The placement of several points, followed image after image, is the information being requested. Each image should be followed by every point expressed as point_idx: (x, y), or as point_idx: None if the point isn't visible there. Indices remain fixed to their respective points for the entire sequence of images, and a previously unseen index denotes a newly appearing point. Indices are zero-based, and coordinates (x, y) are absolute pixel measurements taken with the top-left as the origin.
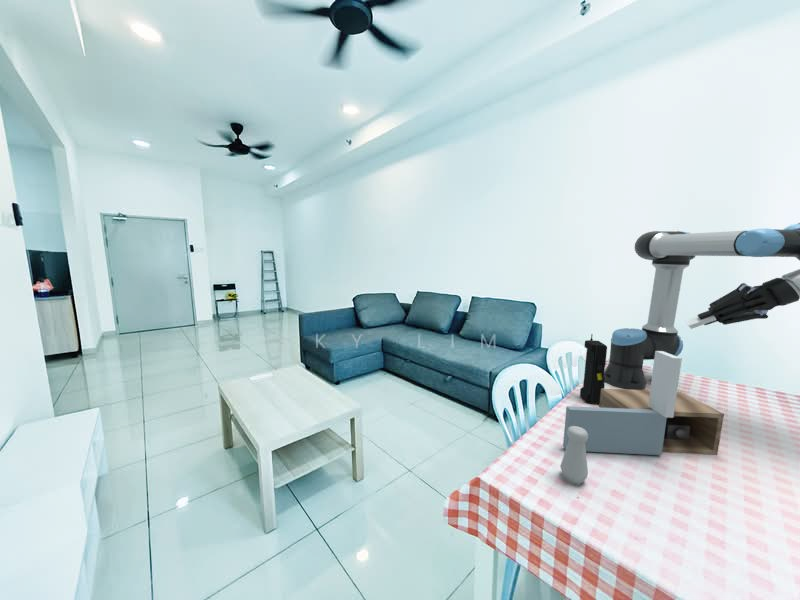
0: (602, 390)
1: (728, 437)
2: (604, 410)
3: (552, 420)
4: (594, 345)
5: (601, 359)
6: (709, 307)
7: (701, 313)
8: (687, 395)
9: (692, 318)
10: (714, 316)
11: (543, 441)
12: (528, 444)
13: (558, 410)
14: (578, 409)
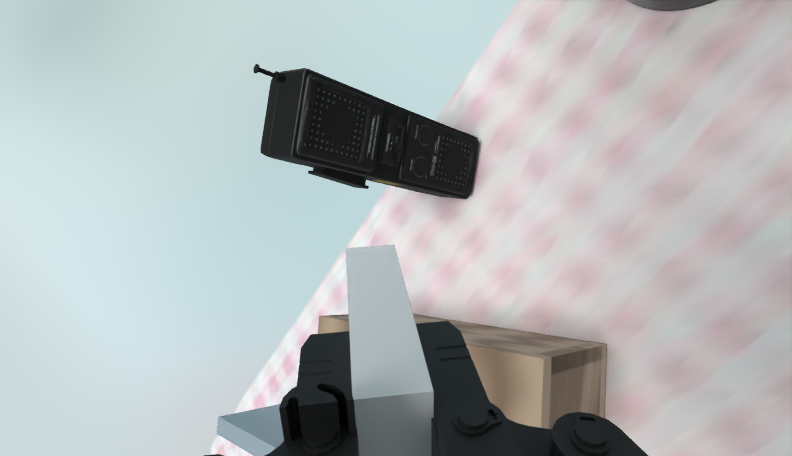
0: (321, 323)
1: (777, 442)
2: (258, 454)
3: (324, 296)
4: (266, 155)
5: (328, 177)
6: (283, 403)
7: (300, 369)
8: (538, 402)
9: (348, 282)
10: (432, 441)
11: (285, 375)
12: (266, 380)
13: (352, 245)
14: (226, 436)
